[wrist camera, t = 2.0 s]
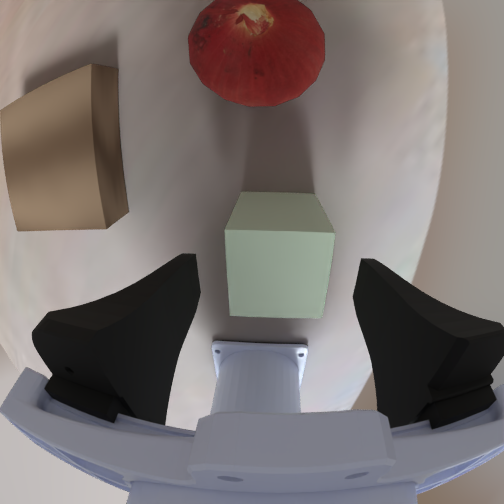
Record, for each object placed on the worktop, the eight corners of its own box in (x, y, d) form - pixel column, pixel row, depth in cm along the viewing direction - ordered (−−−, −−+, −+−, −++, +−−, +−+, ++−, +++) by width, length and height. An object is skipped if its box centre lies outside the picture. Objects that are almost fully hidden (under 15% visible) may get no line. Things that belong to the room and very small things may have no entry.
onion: (195, 92, 13) (126, 73, 6) (231, 11, 11) (196, -59, 4) (291, 124, 14) (309, 127, 7) (326, 42, 11) (370, -16, 4)
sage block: (309, 258, 18) (321, 318, 12) (242, 256, 18) (229, 315, 13) (314, 193, 16) (335, 233, 10) (241, 191, 16) (224, 229, 11)
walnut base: (128, 212, 17) (106, 229, 14) (39, 217, 18) (17, 231, 15) (118, 68, 12) (91, 63, 10) (25, 106, 13) (0, 110, 11)
